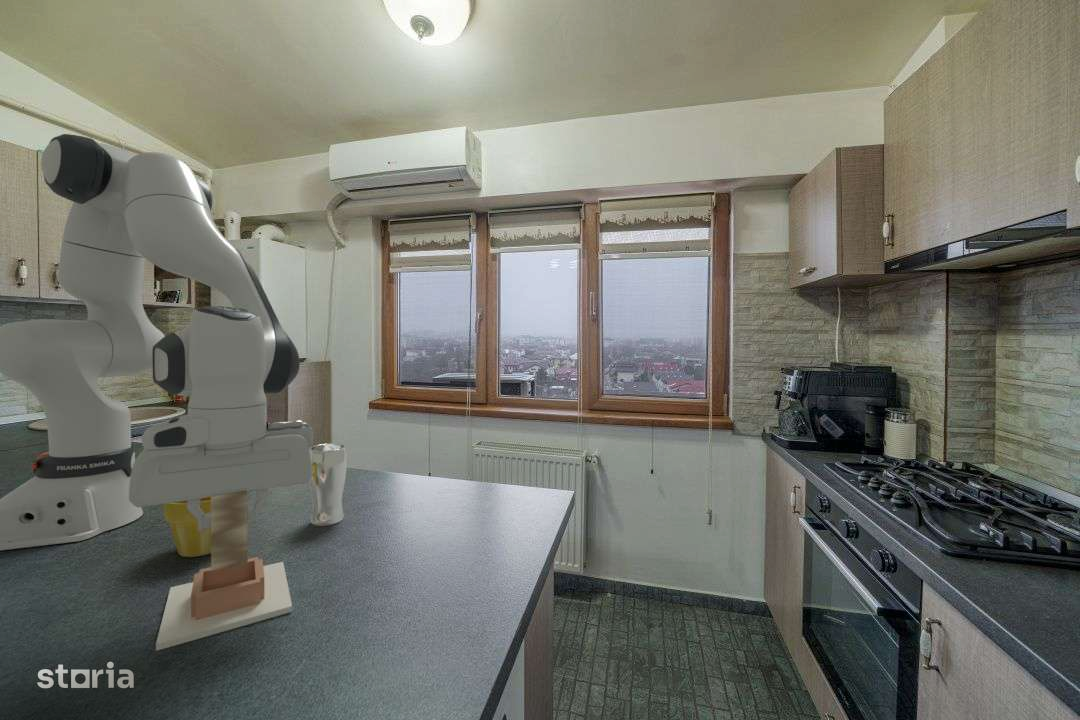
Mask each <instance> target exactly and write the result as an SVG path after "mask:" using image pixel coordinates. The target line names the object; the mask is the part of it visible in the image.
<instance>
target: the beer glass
mask: <svg viewBox="0 0 1080 720" xmlns="http://www.w3.org/2000/svg"><path fill="white" fill-rule="evenodd" d="M309 451H310V457H311V464H312V477H311V478H310V479H309V480H308V482H309V483H308V484H309V487H310V488H309V489H310V493H311V498H312V512H311V516H310V524H311V525H313V526H316V527H317V526H318V527H327V526H331V525H332V526H333V525H335V524H338V523H341V522H342V521H343V520H344V517H345V515H344V510H343V501H342V500H343V493H344V489H345V482H346V476H347V466H348V465H347V451H346V445H345V443H344V444H343V443H338V442H337V443H336V442H335V443H334V442H331V443H320V444H316V445H312V446H311V447H310V448H309Z"/></svg>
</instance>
